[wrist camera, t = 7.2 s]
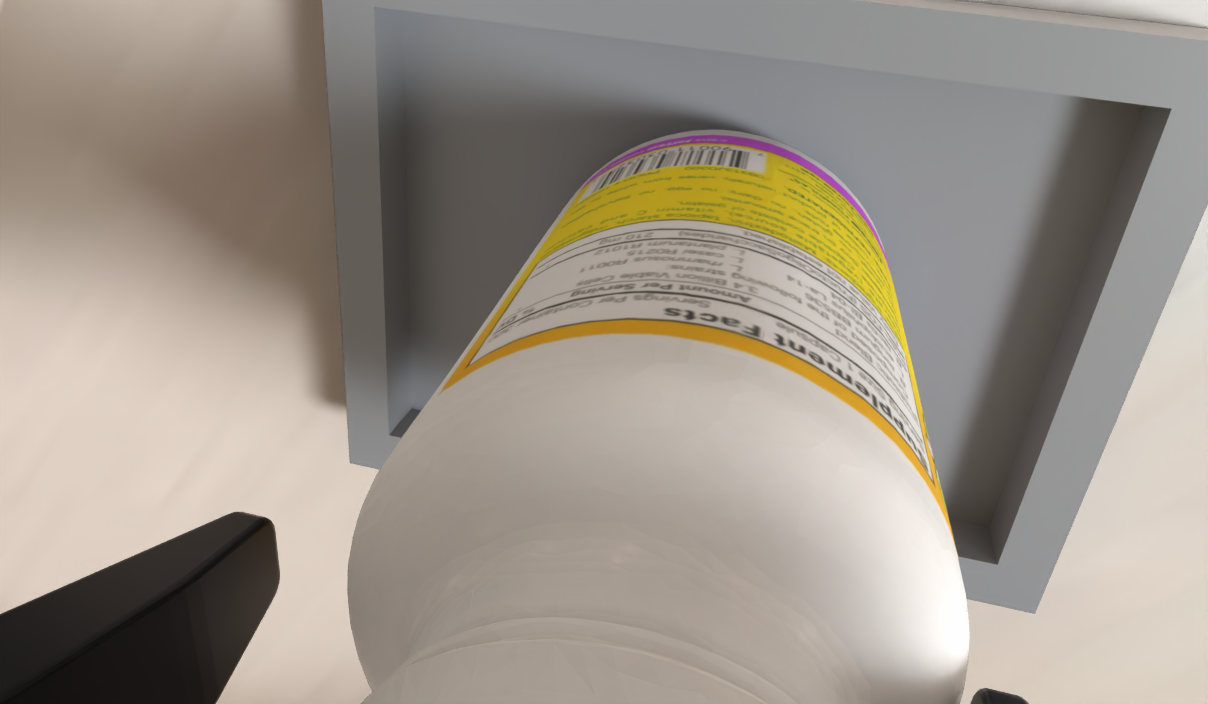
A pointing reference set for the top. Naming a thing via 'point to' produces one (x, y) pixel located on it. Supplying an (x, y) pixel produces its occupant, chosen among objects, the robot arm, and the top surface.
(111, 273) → the top surface
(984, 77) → the tray
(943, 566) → the supplement bottle
